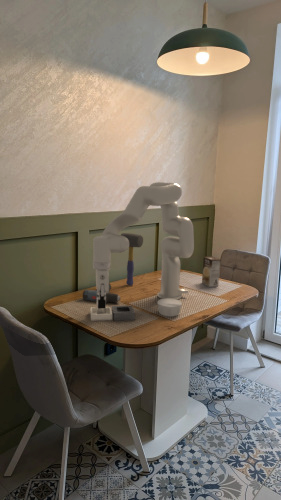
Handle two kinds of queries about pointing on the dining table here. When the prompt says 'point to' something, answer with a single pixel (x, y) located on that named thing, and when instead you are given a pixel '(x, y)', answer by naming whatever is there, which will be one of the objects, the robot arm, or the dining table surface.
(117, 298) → the power drill
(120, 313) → the block
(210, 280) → the coffee box
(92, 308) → the tray
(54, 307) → the dining table surface
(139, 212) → the robot arm
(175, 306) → the ramekin
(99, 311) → the shiny metal canister
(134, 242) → the rubber mallet
